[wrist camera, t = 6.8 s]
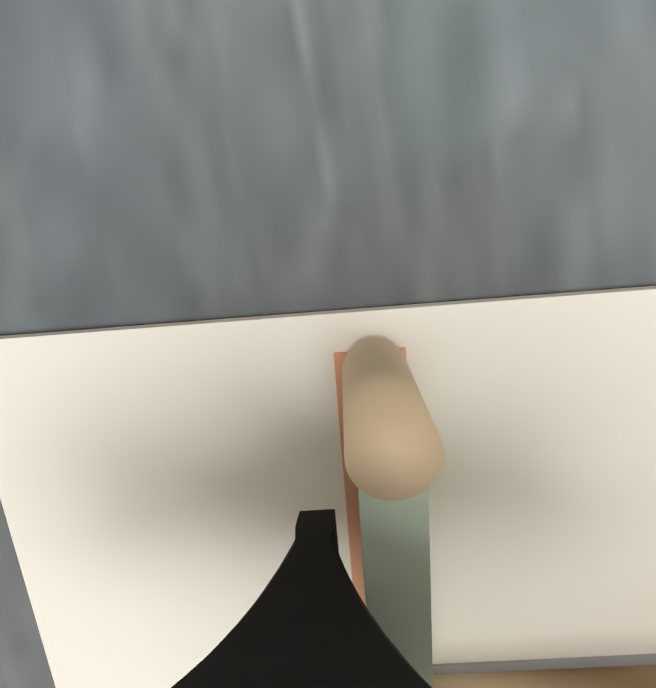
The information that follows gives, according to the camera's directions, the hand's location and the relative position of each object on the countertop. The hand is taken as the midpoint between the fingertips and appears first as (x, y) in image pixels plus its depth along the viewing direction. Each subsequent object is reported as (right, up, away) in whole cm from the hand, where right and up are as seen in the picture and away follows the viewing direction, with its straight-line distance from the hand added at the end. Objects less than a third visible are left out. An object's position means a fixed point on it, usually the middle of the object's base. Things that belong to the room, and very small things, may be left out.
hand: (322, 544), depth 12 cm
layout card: (+3, -4, +3) cm, 5 cm away
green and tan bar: (+2, 0, +1) cm, 2 cm away
